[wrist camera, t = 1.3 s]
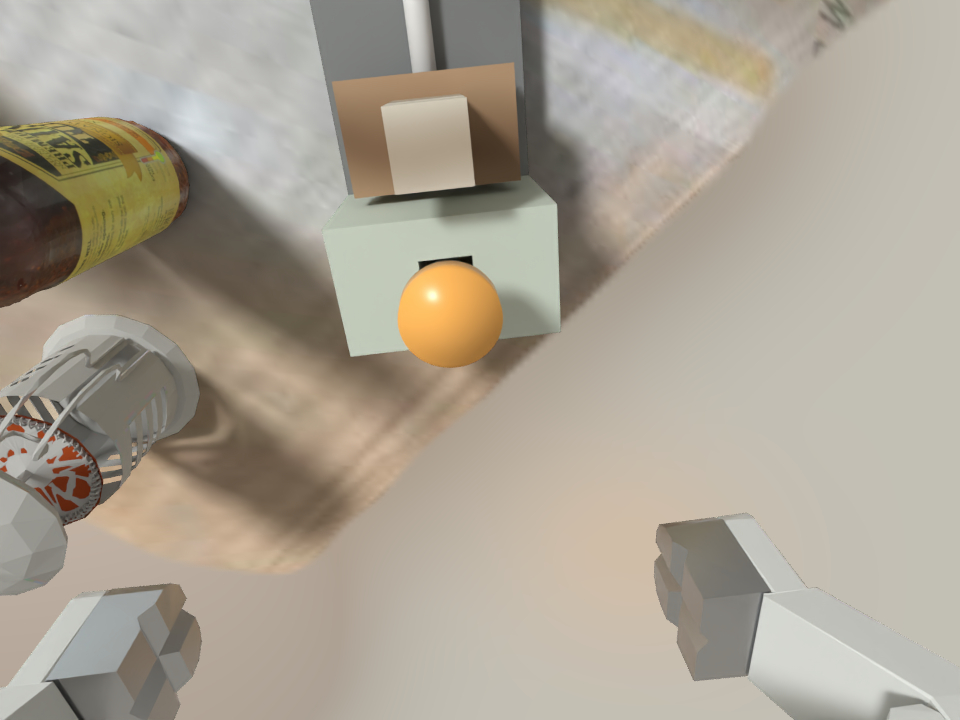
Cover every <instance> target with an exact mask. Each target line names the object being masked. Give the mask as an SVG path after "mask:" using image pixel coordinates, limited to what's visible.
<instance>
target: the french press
mask: <svg viewBox="0 0 960 720" xmlns="http://www.w3.org/2000/svg"><path fill="white" fill-rule="evenodd" d="M34 369H36V370H35V371H34V372H32V371H33V370H34ZM25 374H26V375H25ZM25 374H23V375H25V376H23V375H21V376H20V377H21V378H20V377H19V378H17V379H16V380H15V381H13V382H12V383H11V384H9V385H8V386H6V387H4V388H3V389H2V390H1V391H0V397H4V396H7V398H8V400H9V402H10V404H11V405H12V406H13V409H12V410H11V411H10V412H9V413H8V414H7V413H6V411H5V410H4V408H3V407H2V405H1V404H0V596H2V595H18V594H21V593H24V592H27V591H30V590H33V589H35V588H38V587H41V586H44V585H46V584H47V583H48V582H49V581H50V580H51V579H52V578H53V577H54V576H55V575H56V574H57V573H58V572H59V571H60V570H61V569H62V568H63V565H64V559H65V554H66V548H67V540H68V537H67V534H66V532H65V529H64V527H63V526H65V525H67V524H69V523H72V522H75V521H78V520H80V519H83V518H86V517H87V516H88V515H89V513H90V512H91V511H92V510H93V509H94V508H95V507H96V506H97V505H100V504H102V503H104V502H105V501H106V500H107V499H108V498H109V497H110V496H112V495H113V494H114V493H115V492H116V491H117V490H118V489H119V488H120V487H121V486H122V484H123V483H124V482H125V481H126V479H127V478H128V477H129V476H130V473H131V471H132V470H133V469H134V468H136V467H137V465H138V464H139V462H140V461H141V458H142V457H143V456H144V455H146V454H147V452H148V451H149V449H150V448H151V445H152V444H154V443H155V442H156V441H157V440H160V439H162V438H165V437H167V436H170V435H173V434H175V433H178V432H179V431H180V430H181V429H182V428H183V427H184V426H185V425H186V424H187V423H188V422H189V421H190V420H191V419H192V418H193V417H194V415H195V411H196V408H197V404H198V400H199V396H200V391H199V387H198V382H197V378H196V374H195V370H194V368H193V366H192V365H191V363H190V362H189V361H188V359H187V358H186V357H185V355H184V354H183V352H182V351H181V350H180V348H179V347H178V346H177V344H175V343H174V342H172V341H171V340H170V339H168V338H167V337H165V336H164V335H163V334H161V333H160V332H158V331H157V330H156V329H154V328H153V327H151V326H150V325H147V324H144V323H141V322H138V321H135V320H132V319H129V318H126V317H123V316H120V315H84V316H82V317H79V318H77V319H74V320H72V321H70V322H67V323H65V324H62V325H60V326H59V327H58V328H57V329H56V331H55V332H54V333H53V334H52V336H51V337H50V338H49V339H48V341H47V342H46V343H45V344H44V347H43V356H42V361H41V362H40V363H39V364H37V365H35V366H34V367H33V368H31V369H30V370H29V371H28V372H26V373H25ZM32 375H33V376H32ZM22 376H23V377H22ZM30 376H31V377H30ZM29 377H30V378H29ZM20 380H22V381H21V382H20V383H18V381H20ZM17 383H18V384H17ZM9 386H10V387H9ZM19 396H23V397H22V398H21V399H20V398H19ZM39 397H43V398H47V399H49V400H50V402H51V403H52V405H53V406H54V408H55V409H56V411H57V412H58V414H59V417H58V418H57V419H56V421H55V420H54V419H53V418H52V416H51V415H50V413H49V412H48V410H47V409H46V407H45V406H44V404H43V403H42V401H41V399H40V398H39ZM28 399H29V400H30V401H31V403H32V404H33V406H34V407H35V409H36V410H37V412H38V413H39V415H40V416H41V418H42V419H43V421H42V420H38V419H34V418H32V416H31V415H30V413H29V412H28V410H27V409H26V407H25V406H24V403H25V402H26V401H27V400H28ZM16 413H17V414H18V415H15V414H16ZM132 442H137V446H135V447H132ZM143 442H147V444H143ZM144 449H146V452H144V453H142V451H143V450H144ZM136 451H137V455H136V456H132V452H136ZM116 454H120V459H114V460H107V459H108V458H109V457H110V455H116ZM135 461H136V465H134V466H132V462H135ZM115 465H122V469H119V470H115V471H108V472H100V469H99V468H100V467H107V466H115ZM120 475H122V479H121V481H116V482H112V483H108V484H104V485H103V479H104V478H111V477H115V476H120Z"/></svg>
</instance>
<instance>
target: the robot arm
mask: <svg viewBox="0 0 960 720" xmlns="http://www.w3.org/2000/svg"><path fill="white" fill-rule="evenodd" d="M656 543H657V545H658V548H659V549H660V552H661V555H660V556H659V557H658V558H657V559H656V561H655V566H654V578H655V584H656V591H657V595H658V598H659V601H660V605H661V607H662V610H663V612H664V614H665V616H666V619H667V620H669V621H670V622H672V623H673V624H674V625H676V626H677V627H678V635H677V644H678V646H679V649H680V651H681V653H682V656H683V658H684V660H685V662H686V664H687V667H688V669H689V671H690V673H691V676H692V678H693V680H694V681H699V680H709V679H720V678H730V677H741V676H748V679H749V680H750V681H751V682H752V683H753V684H754V685H755V686H756V687H757V688H759V689H760V690H761V691H762V692H763V693H764V694H765V695H767V696H768V697H769V698H770V699H771V700H772V701H773V702H774V703H776V704H777V705H778V706H779V707H780V708H781V709H783V710H784V711H785V712H786V713H787V714H788V715H789V716H790V717H792V718H793V719H794V720H960V667H959V666H957V665H955V664H953V663H951V662H950V661H948V660H946V659H944V658H942V657H941V656H939V655H937V654H935V653H934V652H932V651H930V650H928V649H926V648H924V647H923V646H921V645H919V644H918V643H916V642H914V641H912V640H910V639H909V638H907V637H905V636H903V635H901V634H900V633H898V632H896V631H894V630H892V629H891V628H889V627H887V626H885V625H884V624H882V623H880V622H878V621H876V620H875V619H872V618H871V617H869V616H867V615H866V614H864V613H862V612H860V611H858V610H857V609H855V608H853V607H851V606H850V605H848V604H846V603H844V602H842V601H841V600H839V599H837V598H835V597H834V596H832V595H830V594H828V593H826V592H825V591H823V590H821V589H819V588H817V587H816V588H807V587H806V585H805V584H804V583H803V581H802V580H801V579H800V577H799V576H798V575H797V573H796V572H795V571H794V570H793V568H792V567H791V566H790V564H789V563H788V562H787V560H786V559H785V558H784V556H783V555H782V554H781V553H780V551H779V550H778V549H777V547H776V546H775V545H774V544H773V542H772V541H771V539H770V538H769V537H768V536H767V534H766V533H765V532H764V530H763V529H762V528H761V526H760V525H759V524H758V522H757V521H756V520H755V518H754V517H753V516H751V515H750V514H748V513H742V514H735V515H727V516H720V517H717V518H714V517H713V518H705V519H697V520H690V521H682V522H674V523H666V524H659V527H658V529H657V533H656ZM186 599H187V598H186V596H185V594H184V593H183V591H182V589H181V587H180V585H177V584H160V585H150V586H139V587H129V588H118V589H112V590H104V591H93V592H83V593H81V594H79V595H78V596H76V597H75V598H73V599H72V600H71V601H70V602H69V604H68V605H67V607H66V608H65V609H64V610H63V612H62V613H61V614H60V616H59V617H58V618H57V620H56V621H55V622H54V624H53V625H52V626H51V628H50V629H49V631H48V632H47V633H46V635H45V636H44V637H43V639H42V640H41V641H40V643H39V644H38V645H37V647H36V648H35V650H34V651H33V652H32V654H31V655H30V656H29V658H28V659H27V660H26V662H25V663H24V664H23V666H22V667H21V668H20V670H19V671H18V672H17V674H16V675H15V677H14V678H13V679H12V681H11V682H10V683H9V685H8V686H7V687H3V688H0V720H174V718H175V716H176V714H177V711H178V709H179V707H180V701H179V698H178V695H177V691H178V690H179V689H180V688H181V687H182V686H184V685H185V684H186V683H187V682H188V681H189V680H190V679H191V678H192V676H193V674H194V671H195V669H196V666H197V664H198V661H199V656H200V650H201V642H202V640H201V632H200V627H199V625H198V622H197V620H196V618H195V617H194V616H193V615H191V614H189V613H188V612H186V611H184V610H183V609H182V607H183V605H184V603H185V601H186Z"/></svg>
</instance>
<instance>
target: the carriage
mask: <svg viewBox="0 0 960 720" xmlns="http://www.w3.org/2000/svg"><path fill="white" fill-rule="evenodd" d="M332 86H333V91H334V96H335V101H336V106H337V111H338V116H339V122H340V127H341V132H342V137H343V142H344V147H345V152H346V157H347V162H348V168H349V173H350V178H351V183H352V188H353V193H354V198H355V199H357V198H366V197H375V196H384V195H393V194H395V195H400V194H409V193H418V192H427V191H436V190H445V189H454V188H463V187H472V186H475V185H483V184H492V183H501V182H510V181H519V180H521V173H520V156H519V139H518V121H517V104H516V87H515V70H514V62H512V63H503V64H493V65H484V66H474V67H465V68H456V69H446V70H437V71H427V72H418V73H409V74H399V75H390V76H380V77H371V78H361V79H352V80H343V81H333V82H332Z"/></svg>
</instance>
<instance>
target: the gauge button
mask: <svg viewBox="0 0 960 720" xmlns="http://www.w3.org/2000/svg"><path fill="white" fill-rule="evenodd" d="M502 325H503V312H502V307H501V304H500V300H499V297H498V293H497V291H496V288H495V286H494V285H493V283H492V282H491V280H490V279H489V278H488V277H487V276H486V275H485V274H484V273H483V272H482V271H481V270H479V269H478V268H476V267H474V266H472V265H470V264H467V263H464V262H461V260H460V259H459V258H457V257H453V258H445V259H436V260H434V262H433V263H432V264H430V265H428V266H425V267H424V268H422V269H420V270H419V271H418V272H416V273H415V274H414V275H413V276H412V277H411V278H410V279H409V281H408V282H407V284H406V285H405V287H404V289H403V292H402V295H401V298H400V304H399V310H398V328H399V332H400V335H401V337H402V340H403V341H404V343H405V345H406V346H407V347H408V349H409V350H410V351H411V352H412V353H413V354H414V355H415V356H417V357H418V358H419V359H421V360H423V361H424V362H427V363H429V364H431V365H435V366H439V367H447V368H453V367H461V366H465V365H469V364H471V363H473V362H476V361H477V360H479V359H481V358H482V357H484V356H485V355H486V354H487V353H488V352H489V351H490V350H491V349H492V348H493V347H494V345H495V344H496V342H497V340H498V338H499V336H500V334H501V330H502Z"/></svg>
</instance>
